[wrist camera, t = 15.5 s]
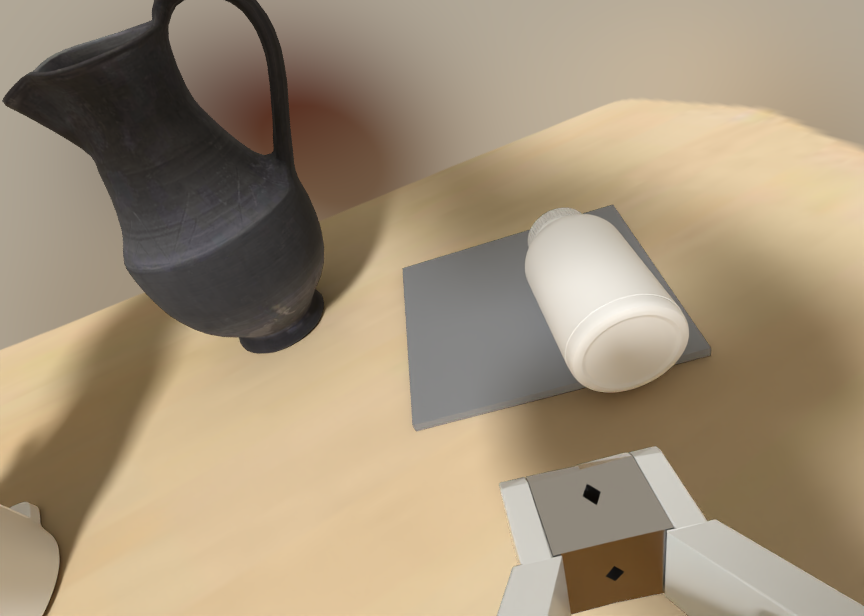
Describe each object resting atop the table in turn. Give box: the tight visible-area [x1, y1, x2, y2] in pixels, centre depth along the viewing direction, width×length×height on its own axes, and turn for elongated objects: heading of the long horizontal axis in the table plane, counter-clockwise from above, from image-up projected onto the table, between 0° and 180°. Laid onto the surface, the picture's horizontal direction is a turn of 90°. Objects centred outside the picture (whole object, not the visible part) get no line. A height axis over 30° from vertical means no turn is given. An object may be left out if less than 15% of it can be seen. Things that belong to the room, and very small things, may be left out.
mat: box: [403, 205, 711, 431], centre depth 46 cm, size 22×20×1 cm
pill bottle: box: [525, 208, 689, 392], centre depth 39 cm, size 8×8×15 cm
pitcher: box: [2, 0, 324, 353], centre depth 46 cm, size 17×21×30 cm
